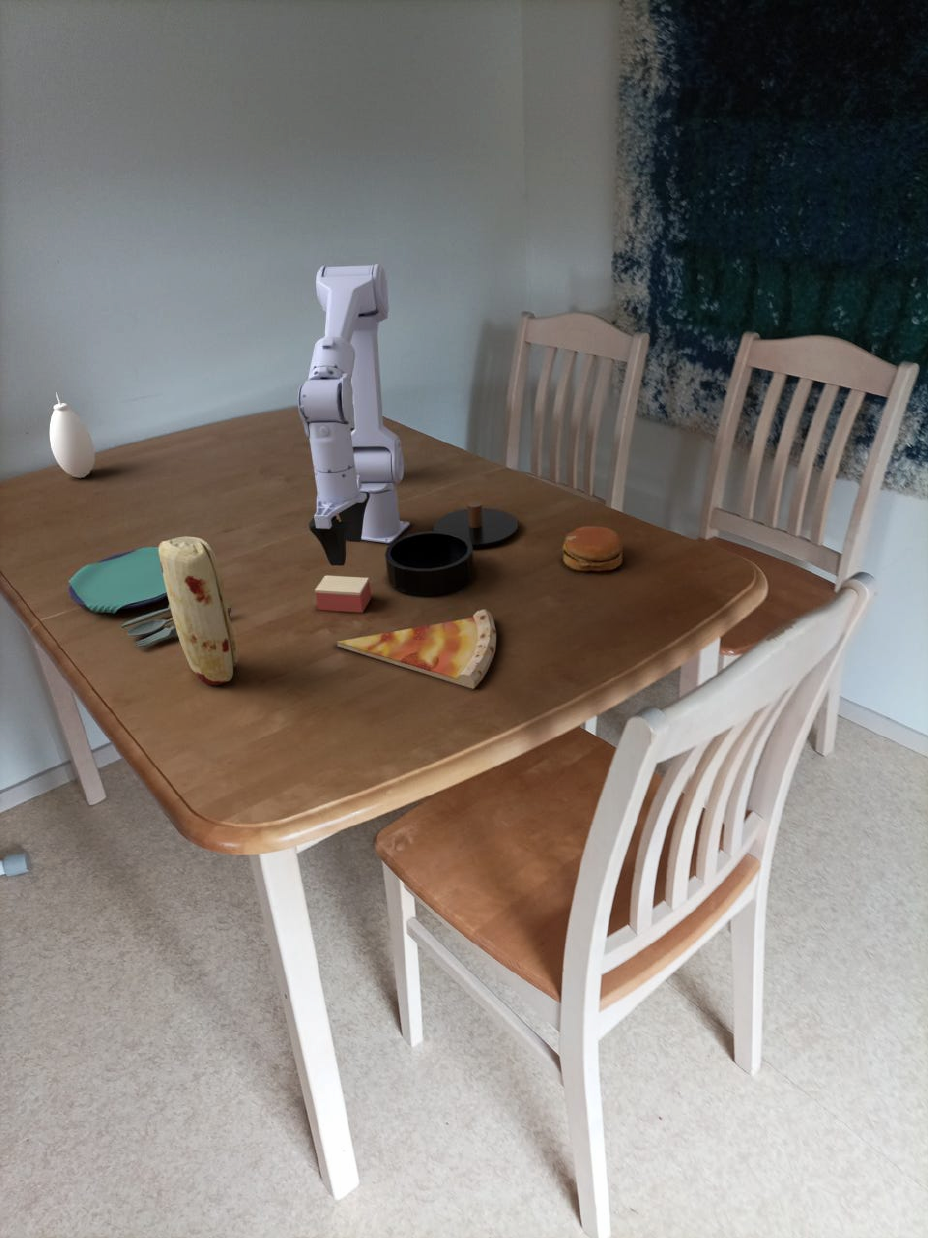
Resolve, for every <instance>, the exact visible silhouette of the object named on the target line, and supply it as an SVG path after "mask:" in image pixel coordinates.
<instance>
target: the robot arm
mask: <svg viewBox="0 0 928 1238" xmlns="http://www.w3.org/2000/svg"><path fill="white" fill-rule="evenodd" d="M318 269H319V270H318V271H317V273H316V279H315V286H316V287H315V289H316V296H317V300H318V303H319V305H320V307H321V308H322V311H323V312H324V313H325V324H324V336H323V337H321V338H319V339H318V340H317V341H316V343H315V345H314V348H313V352H312V358H311V363H310V368H309V373H308V377H307V379H306V380H305V382H304V383H301V384H300V385H299V387H298V391H297V405H298V413H299V417H300V420H301V422H302V424H303V427H304V428H303V429H304V434H305V436H306V438H309V445H310V451H311V458H312V465H313V471H314V472H313V473H314V477H315V484H316V491H317V495H316V513H315V514H314V515H313V516H314V517H313V518H312V519H311V520H310V521H309V522H308V528H309V531H310V532H311V533H312V534H313V535H314V536H315V537H316V539H317V540H318V542H319V544H320V545H321V547H322V549H323V552H324V554H325V556H326V558H327V560H328V563H329V565H331V566H342V567H343V566H345V564H346V559H347V542H350V543H351V542H353V543H360V542H361V541H367V542H374V543H383V544H391V543H392V542H394V541H396V540H397V539H398V537H399V536H400V535H402V533H403V532H405V530H407V528H409V526H410V522H409V521H403V520H400V519H401V518H400V509H399V499H398V489H397V485H399V484H400V483H401V482H402V481H403V479H404V475H405V473H404V472H405V459H404V452H403V450H402V441H401V440H400V437H399V435H397V434H396V433H394V431H391V429H389V428H387V427H386V426H385V425H384V417H383V416H384V415H383V402H382V390H381V389H382V388H381V386H382V385H381V373H380V358H379V357H380V356H379V344H378V343H379V342H378V341H379V340H378V331H379V330H378V329H379V325H380V324H379V323H381V322H383V321H385V320H386V319H388V317H389V315H388V314H389V309H390V308H389V294H388V292H389V291H388V279H387V275H386V271H385V269H384V267H383V266H382V264H380V263H375V264H372V265H371V264H370V265H369V264H368V265H346V266H344V265H343V266H326V265H322V266H320V267H319V268H318ZM353 407H354V420H355V429H354V430H353V431H352V432H351V429H350V420H351V417H352V410H353ZM361 446H380V447H361ZM337 515H338V516H337ZM338 517H339V518H338Z"/></svg>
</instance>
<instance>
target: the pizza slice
mask: <svg viewBox="0 0 928 1238" xmlns="http://www.w3.org/2000/svg"><path fill="white" fill-rule="evenodd" d="M336 645H337V646H336V647H339V648H341V649H345V650H348V651H352V652H355V653H358V654H360V655H364V656H367V657H371V658H373V659H377V660H380V661H383V662H387V663H390V664H393V665H395V666H399V667H402V668H405V669H408V670H412V671H415V672H418V673H421V674H425V675H428V676H431V677H434V678H437V679H440V680H443V681H447V682H450V683H453V684H456V685H459V686H463V687H465V688H469V689H472V690H473V689H475V688H476V687H478V685H479V684H480V682H481V681H482V680H483V679H484V677H485V675H486V674H487V672H488V671H489V668H490V666H491V663H492V661H493V659H494V655H495V653H496V646H497V630H496V627H495V622H494V617H493V615H492V614H491V612H490V611H488V610H487V609H486V608H484V609H481V610H477V611H476V612H475V613H474V614H473V615H472V617H468V618H462V619H456V620H450V621H445V622H440V623H439V622H438V623H434V624H429V625H422V626H418V627H411V628H406V629H401V630H396V631H395V630H394V631H389V632H383V633H378V634H372V635H367V636H361V637H355V638H350V639H346V640H340V641H339V640H338V641H336Z"/></svg>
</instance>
